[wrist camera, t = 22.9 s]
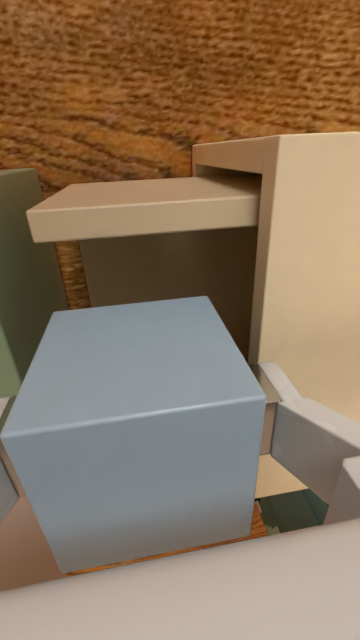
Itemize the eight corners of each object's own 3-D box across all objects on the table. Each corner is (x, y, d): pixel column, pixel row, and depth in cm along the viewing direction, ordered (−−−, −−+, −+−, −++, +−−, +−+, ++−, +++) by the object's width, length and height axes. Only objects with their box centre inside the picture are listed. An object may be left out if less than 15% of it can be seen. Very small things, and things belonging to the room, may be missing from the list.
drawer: (-17, 390, 18) (-100, 530, 11) (-111, 175, 13) (-375, 200, 6) (278, 351, 20) (355, 450, 14) (304, 154, 15) (453, 155, 8)
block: (52, 310, 9) (-4, 436, 5) (207, 294, 9) (268, 396, 5) (82, 425, 11) (60, 576, 7) (207, 406, 12) (251, 536, 8)
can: (222, 445, 25) (328, 761, 12) (279, 398, 24) (471, 699, 11) (267, 472, 28) (395, 755, 15) (321, 430, 26) (517, 705, 13)
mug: (-64, 511, 24) (-192, 757, 14) (46, 478, 24) (-6, 698, 14) (15, 580, 29) (-37, 786, 20) (102, 552, 30) (93, 743, 20)
